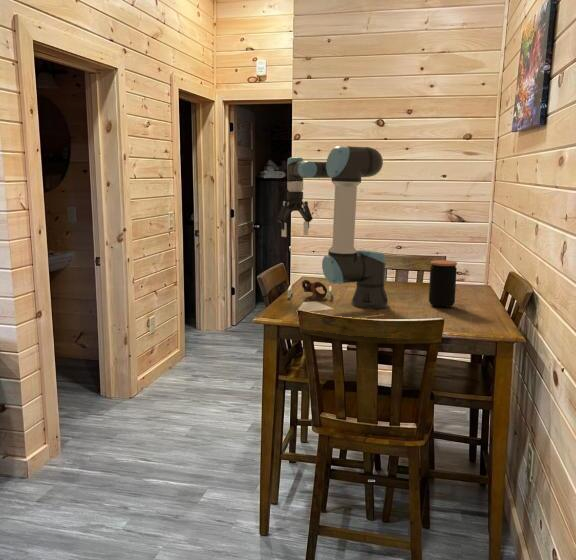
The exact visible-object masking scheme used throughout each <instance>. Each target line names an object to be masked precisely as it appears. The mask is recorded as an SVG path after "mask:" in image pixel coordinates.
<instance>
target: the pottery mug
mask: <svg viewBox="0 0 576 560" xmlns="http://www.w3.org/2000/svg"><path fill="white" fill-rule="evenodd" d="M301 287H302V288H303V291H304V292H305V293H312V294H311V296H310V299H311V300H312V301H313V300H322V299H325V297H326V296H327V294H328V289H327V287H326V286H325V284H324V283H322V282H319V281H315V282H311V281H310V280H307V279H304V280H302V281H301ZM318 288H322V290H323V292H324V293H320V292H319V291H318V290H317V289H318Z"/></svg>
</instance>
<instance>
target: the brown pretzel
mask: <svg viewBox="0 0 576 560" xmlns="http://www.w3.org/2000/svg"><path fill="white" fill-rule="evenodd" d="M291 294H293V285H292V284H290V285H289V286H288V288H287V299H288V298H290V299H291V298H292V297H291V296H292V295H291ZM331 300H332V285H329V286H328V301H331Z"/></svg>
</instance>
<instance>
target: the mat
mask: <svg viewBox="0 0 576 560" xmlns="http://www.w3.org/2000/svg"><path fill="white" fill-rule="evenodd" d="M298 309H303V310H308V311H311V312H317V311H327V310H328V311H329V310H334V308H333V307H331V306H328V305H326V304H323V303H321V302H318V301H317V300H314V301H313V300H312V301H303V302H302V304H300V305H299V307H298ZM298 309H297V310H298ZM297 310H296V312H297ZM297 313H298V312H297Z"/></svg>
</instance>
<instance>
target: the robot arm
mask: <svg viewBox="0 0 576 560" xmlns="http://www.w3.org/2000/svg"><path fill="white" fill-rule="evenodd" d="M382 156H383V155H382V154H381V153H380V151H378V149H375V148H373V147H369V146H350V145H349V146H347V145H344V146H343V145H342V146H335V147H333V148H332V149H331V150H330V152H329V154H328V156H327V158H326V161H317V160H316V161H315V160H304V159H303V157H289V158H287V161H286V163H287V165H286V168H287V171H286V173H287V175H286V176H287V182H286V184H287V190H288V191H287V193H286V194H287V195H286V196H287V197H286V198H287V201H282V203H281V204H282V205H281V208H280V210H279V213H278V215H277V218H276V221H277V222H278V223H280V230H281V237H282V238H283V237H284V238H286V237H287V222H286V221H287V219H288V218H289V217H290V215H291V213H292V212H296V211H297V212H299V214H300V215H301V217H302V219H303V220H304V221H303V229H302V230H303V235H304V236H309V228H310V222H312V220H313V216H312V213H311V209H310V207H309V202H308V200H304V192H303V191H304V179H331V183H332V184H333V186H334V200H333V202H334V203H333V204H334V205H333V224H332V227H333V228H332V245H331V246H330V248H328V251H327V253H328V254H326V255H324V256H323V259H322V260H321V261H322V262H321V268H322V272H323V276H324V277H325V279H326V281H328V283H330V284H338V285H341V284H349V283H350V284H351V283H356V285H355V286H356V287H355V290H354V293H353V295H352V297H351V306H353V307H356V308H360V309H372V310H379V309H381V310H383V309H385V308H388V307H389V298H388V296H387V292H386V289H385V282H386V280H385V278H386V264H387V263H386V256H385V254H384V253H383V252H379V251H375V250H373V251H372V250H367V249H358V250H357V249H356V248H355V234H356V233H355V231H356V230H355V229H356V213H357V212H356V211H357V210H356V209H357V193H358V192H357V191H358V186H359V185H360V184H361V183H362V178H370V177H375V176H376V175H377V174H378V173H380V171H381V170H382V168H383V165H384V161H383V157H382Z"/></svg>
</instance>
